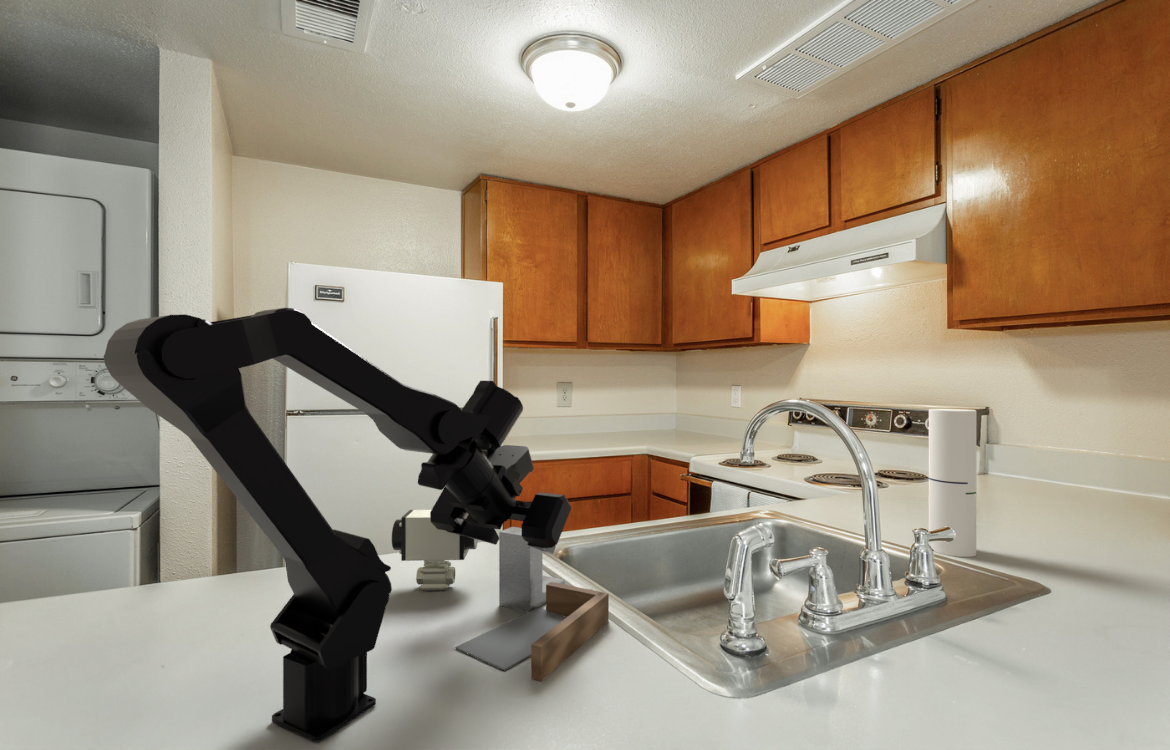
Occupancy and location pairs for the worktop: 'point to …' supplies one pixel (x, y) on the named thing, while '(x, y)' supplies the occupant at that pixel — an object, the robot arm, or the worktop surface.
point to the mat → (511, 639)
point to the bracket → (521, 573)
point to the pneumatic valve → (429, 549)
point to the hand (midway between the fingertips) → (524, 545)
